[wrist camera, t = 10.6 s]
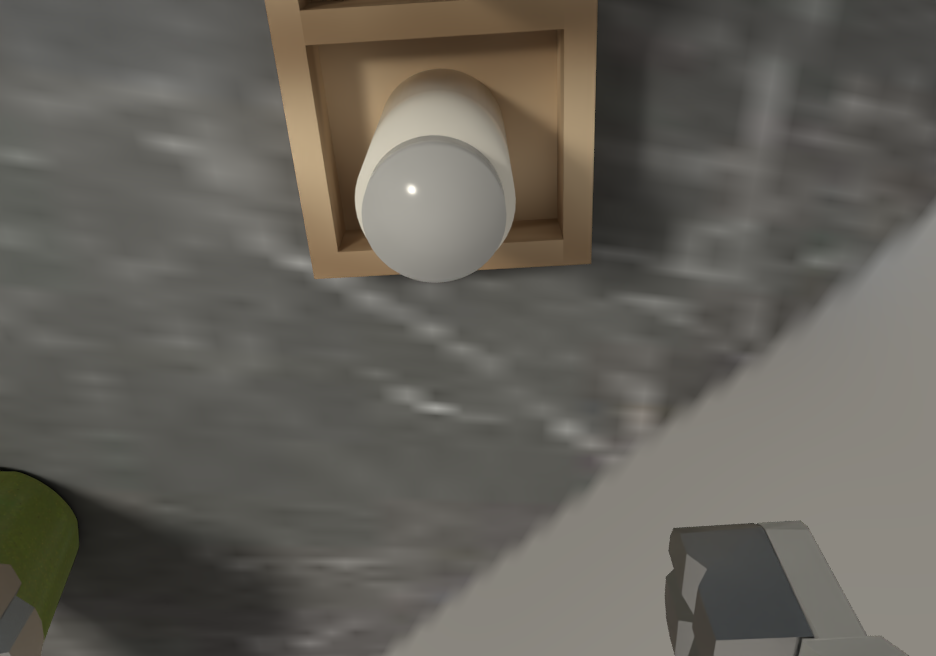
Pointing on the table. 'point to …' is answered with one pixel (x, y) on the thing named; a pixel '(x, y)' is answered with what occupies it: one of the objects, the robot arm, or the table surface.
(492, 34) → the caddy
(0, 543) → the plant pot
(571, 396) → the table surface
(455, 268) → the salt shaker
